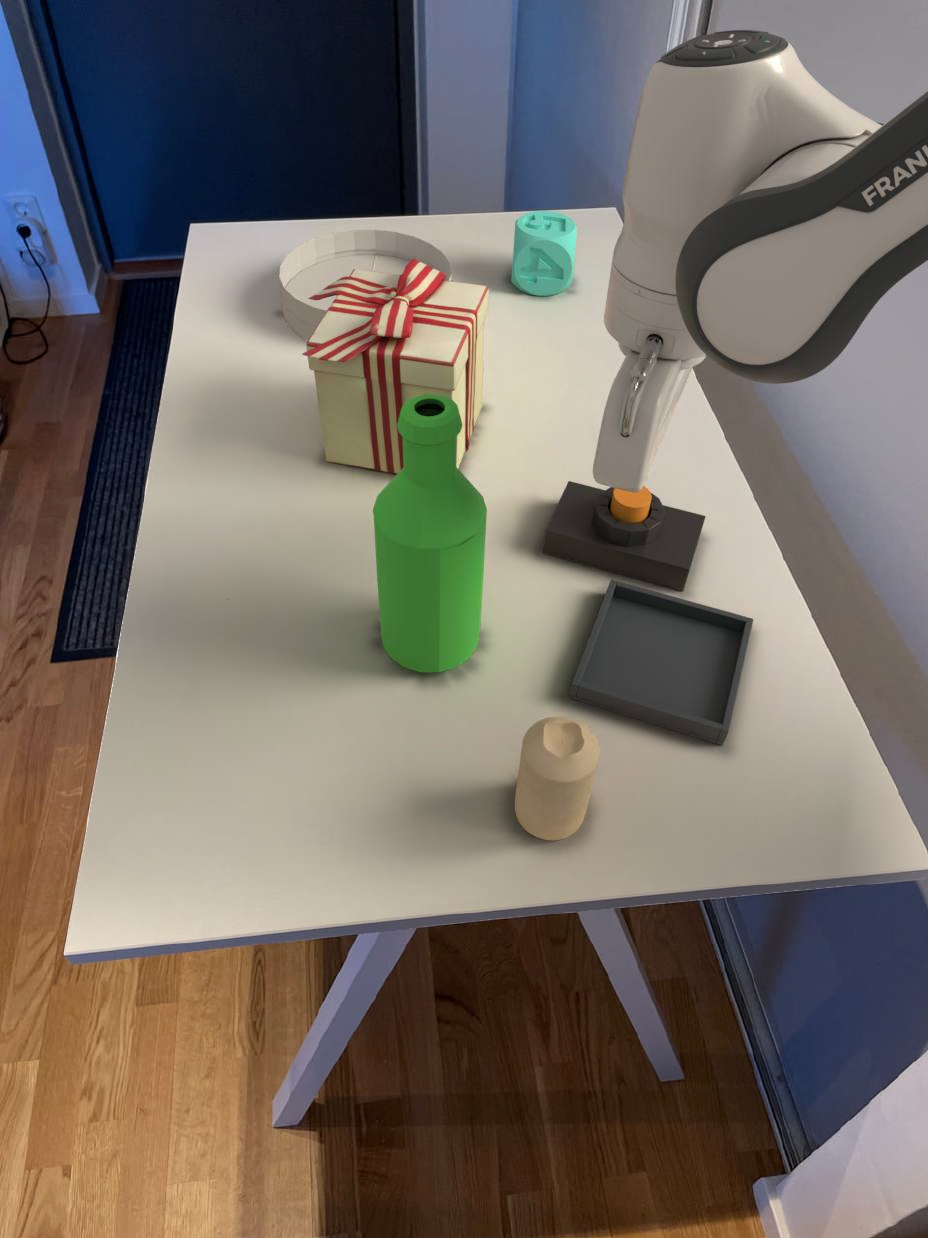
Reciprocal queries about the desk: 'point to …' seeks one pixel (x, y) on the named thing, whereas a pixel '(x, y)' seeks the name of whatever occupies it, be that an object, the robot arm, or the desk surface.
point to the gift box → (395, 359)
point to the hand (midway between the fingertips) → (638, 463)
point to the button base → (623, 537)
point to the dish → (344, 269)
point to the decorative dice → (544, 253)
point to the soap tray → (664, 661)
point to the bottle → (430, 544)
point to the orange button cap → (630, 505)
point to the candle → (555, 777)
